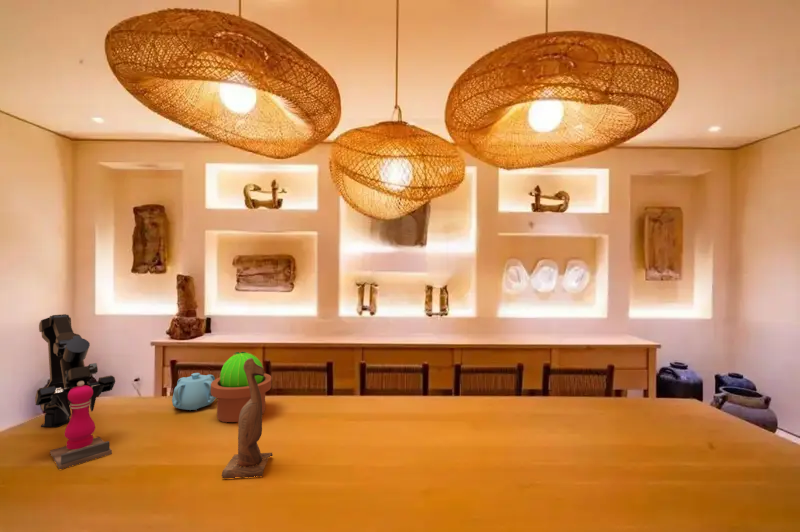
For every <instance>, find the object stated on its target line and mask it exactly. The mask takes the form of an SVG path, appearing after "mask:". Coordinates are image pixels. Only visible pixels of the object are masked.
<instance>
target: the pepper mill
mask: <svg viewBox="0 0 800 532" xmlns="http://www.w3.org/2000/svg"><path fill="white" fill-rule="evenodd" d="M92 395H93V389H92V388H91V387H90V386H88V385H84V381H79V382H78V383H77V386H76V387H74V388H72V389H71V390H70V391H69V393H68V399H69V401H71V403H70V410H71V416H70V418H71V419H70V421H69V422H68V424H67V425H66V428H65V429H64V430H65V431H64V437H65V438H66V439H67V440H66V446H67V448H68V449H79V448H83V447H86V446H88V445H90V444H91V443H92V442H93V438H94V436H93V434H94V432H95V430H96V424H95V421H94V420H93V418H92V417H91V415H90V404H91V399H90V398H91V397H92Z"/></svg>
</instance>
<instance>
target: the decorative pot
mask: <svg viewBox="0 0 800 532" xmlns="http://www.w3.org/2000/svg"><path fill="white" fill-rule="evenodd" d="M215 379H216V378H215V376H214V375H213V374H207V375H205V374H201V373H200V372H194V373H191V374H190V376H186V377H184V376H183V377H180V378H178V380H177V382H176V386H175V387H174V389H173V395H172V398H171V402H172V406H173V408H176V409H180V410H187V411H188V410H189V411H191V410H196V411H198V410H199V409H201V408H205V407H206V406H211V404H212V403H214V401H215V400H217V398H216V397H213V396H212V395H211V383H212V382H213V381H214V380H215ZM197 409H198V410H197Z"/></svg>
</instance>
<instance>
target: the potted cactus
mask: <svg viewBox="0 0 800 532" xmlns="http://www.w3.org/2000/svg"><path fill="white" fill-rule="evenodd" d="M249 358H253V360H254V362H255V363H256V364H257V365H259V366H261V367H262V368H263V369H264V368H265V367H264V366H263V363H262V361H260V359H259V358H258V357H257V356H256V355H255V354H252V353H250V352H246V351H241V352H239V351H236V352H234V353H233V354H232V356H230V357H229V358H228V359H227V360H225V362H224V363H223V364H222V365H223V366H222V368H221V371H220V374H219V377H217V378H215V380H214V381H213V382H212V383H211V395H212V396H213V397H216V401H217V404H216V406H217V407H216V411H217V412H216V417H217V420H218V421H220V422H222V423H227V422H238V423H239V415H240V412H241V409H242V408H243V406H244V405H245V404H246V403H247V402H248V401H249V400H250V399H251V395H250V389H249V384H248V380H247V377H246V374H245V371H244V368H243V367H244V363H245V361H246V360H247V359H249ZM255 379H256V382H257V384H258V387H259V390H260V394H261V399H262V414H263V415H264V414H265V411H266V393H267V392H268V391H270V390H271V389H272V376H271V375H270V374H269V373H266V372H264V376H260V375H257V376H255Z"/></svg>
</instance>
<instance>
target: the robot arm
mask: <svg viewBox="0 0 800 532" xmlns="http://www.w3.org/2000/svg"><path fill="white" fill-rule="evenodd" d="M72 326H73V325H72V317H70V315H69V314H66V313H65V314H64V313H63V314H53V315H52V314H51V315H50V316H49V317H47V318H44V319H41V320H40V321H39V324H38V330H39V331H38V332H39V333H41V338H42V339H43V340H44V341H45V342H46V343H47V350H48V351H47V352H48V364H49V365H48V367H49V369H48V370H49V383H48V385H47V386H43V387H39V388H38V389H37V390H36V393H35V398H34V401H35V402H34V403H35V406H40V409H41V411H42V412H44V413H45V414H44V423H43V424H41V425H40V428H41V427H42V428H43V427H44V428H58V427H61V426H63V425H65V424H67V423H69V421H70V419H71V416H72V409H71V408H70V403H71V401H69V399H68V393H69V391H70V390H71V389H72V388H74V387H76V386H77V383H78V382H79V381H84V385H88V386H90V387H91V388H92V389H93V395H92V397H91V398H90V399H91V404H90V405H89V410H90V412H93V411H94V409H95V404H96V399H97V396H100V395H101V394H102V393H105V392H106V393H107V392H110V391H112V390H113V389H114V386H115V384H116V377H115V376H114V375H106V376H102V377H99V378H98V380H97V381H96V382H90V380H91V376H92V375H95V374H96V375H97V373H98V371H99V370H98V363H97V362H94V363H89V364H88V365H85V359H86V358H87V355H88V352H89V349H90V342H89V341H88V340H87V339H85V338H82V336H81V335H80V334H79V333H75V332H74V330H73V327H72Z"/></svg>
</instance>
